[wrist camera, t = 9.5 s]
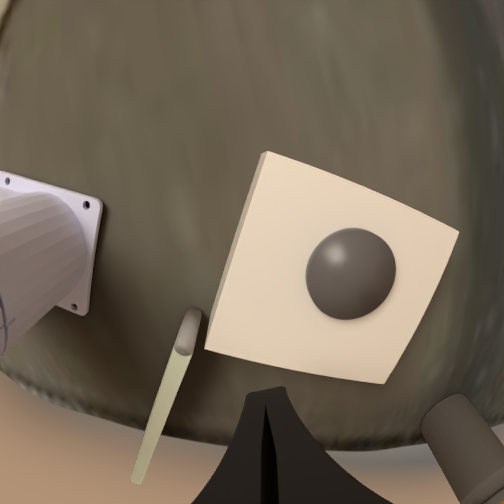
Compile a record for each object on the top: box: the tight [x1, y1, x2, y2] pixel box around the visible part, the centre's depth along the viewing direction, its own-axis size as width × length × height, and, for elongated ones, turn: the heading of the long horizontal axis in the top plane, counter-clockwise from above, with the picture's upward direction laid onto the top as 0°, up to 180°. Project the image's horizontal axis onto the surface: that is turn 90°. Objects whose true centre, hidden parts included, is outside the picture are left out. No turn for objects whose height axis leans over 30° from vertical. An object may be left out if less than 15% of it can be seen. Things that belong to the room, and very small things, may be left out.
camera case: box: [204, 151, 459, 384], centre depth 16 cm, size 11×10×5 cm
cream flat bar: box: [130, 307, 202, 485], centre depth 19 cm, size 17×1×4 cm, turn 157°
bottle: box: [420, 394, 504, 504], centre depth 16 cm, size 6×6×15 cm
